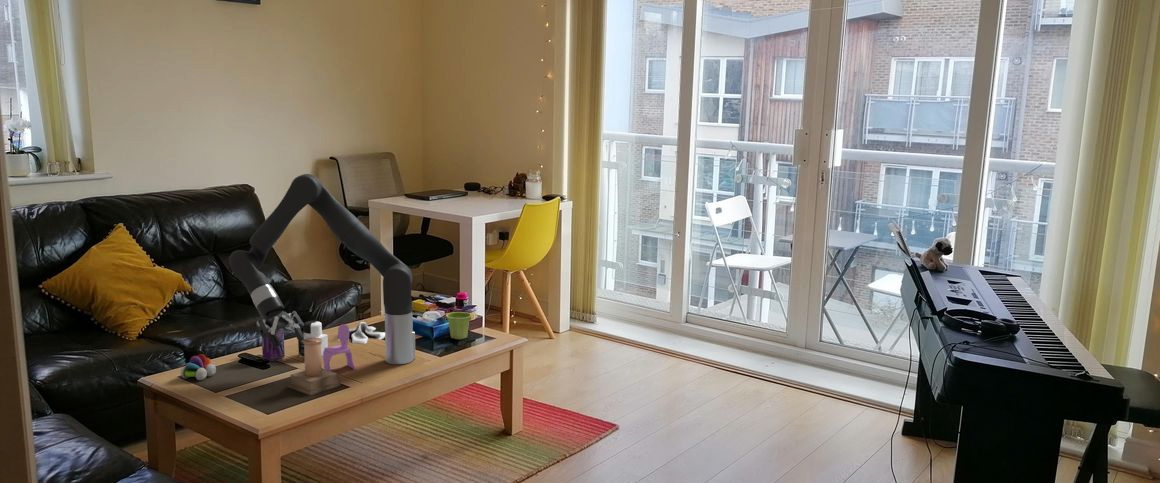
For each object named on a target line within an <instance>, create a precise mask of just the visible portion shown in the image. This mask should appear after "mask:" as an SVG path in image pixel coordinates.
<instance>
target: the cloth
mask: <svg viewBox="0 0 1160 483" xmlns="http://www.w3.org/2000/svg"><path fill="white" fill-rule="evenodd" d="M376 329H377V328H376V327H374V326H373V325H372V326H368V324H367V323H366V321H365V322H364V321H360V322H359V324H357V326H355V327H354V328H352V329H350V328H349V338H350V337H351V339H352V341H351V343H352V344H363V345H364V344H368V341H369V338H375V339H377V340H382V339H385V331H383V332H381V331H376ZM337 341H339V342H341V341H340V340H339V338H338V339H337Z"/></svg>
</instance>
